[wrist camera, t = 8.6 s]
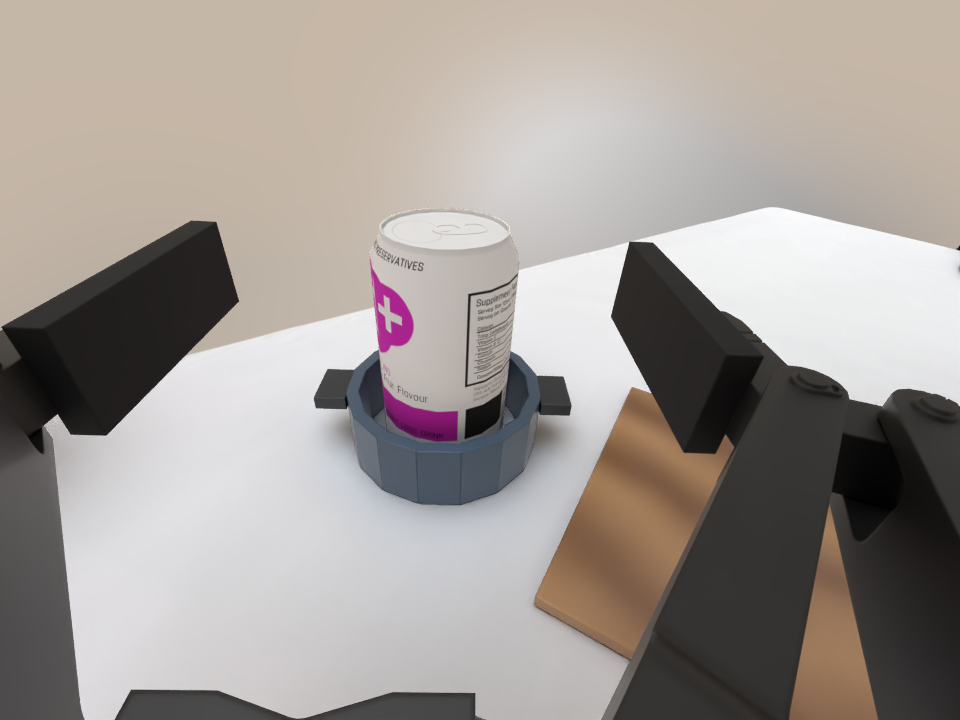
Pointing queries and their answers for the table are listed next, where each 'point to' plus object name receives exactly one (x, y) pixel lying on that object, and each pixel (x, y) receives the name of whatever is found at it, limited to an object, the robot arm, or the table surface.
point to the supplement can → (444, 321)
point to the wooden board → (658, 547)
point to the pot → (442, 466)
